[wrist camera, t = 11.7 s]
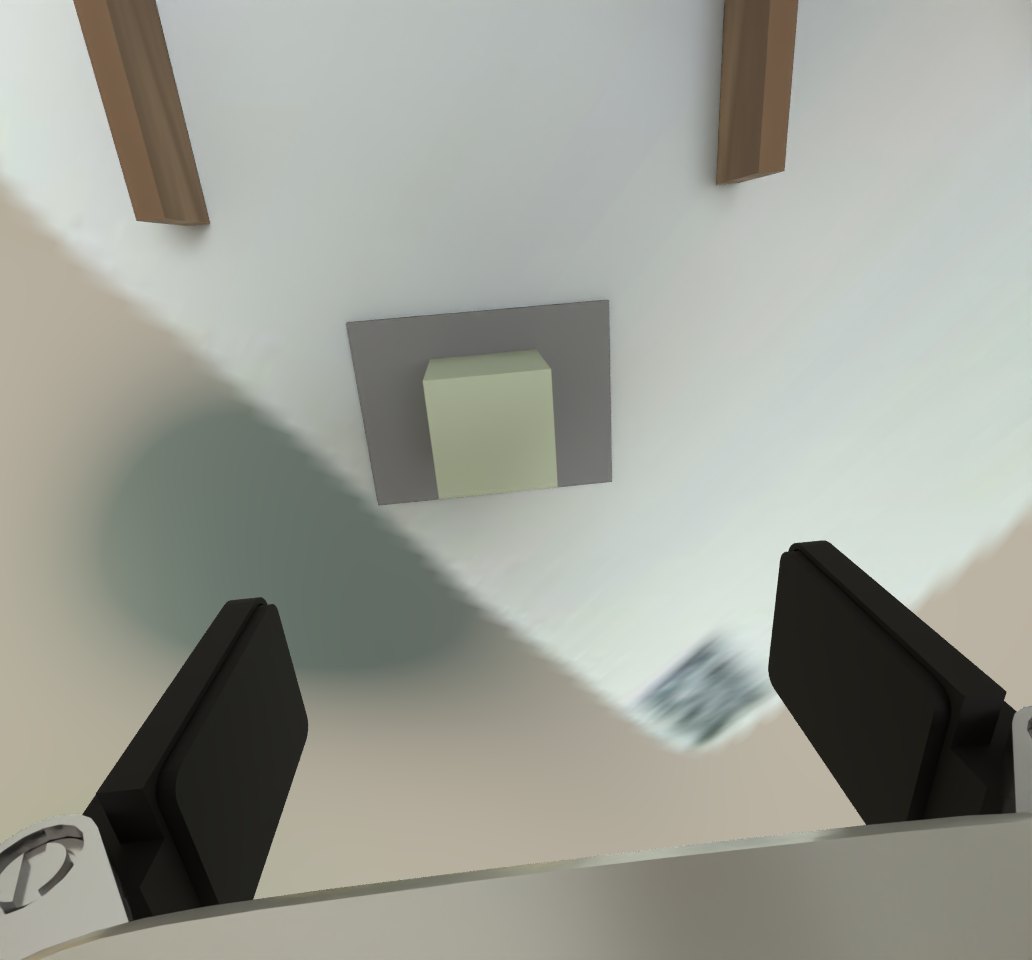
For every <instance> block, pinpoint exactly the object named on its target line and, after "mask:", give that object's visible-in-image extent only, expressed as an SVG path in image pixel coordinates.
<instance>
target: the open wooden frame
mask: <svg viewBox="0 0 1032 960" xmlns="http://www.w3.org/2000/svg"><path fill="white" fill-rule="evenodd" d="M73 1H74V5H75V8H76V12H77V15H78V19H79V22H80V25H81V29H82V32H83V36H84V39H85V43H86V46H87V50H88V53H89V57H90V60H91V64H92V67H93V71H94V74H95V78H96V81H97V85H98V88H99V92H100V95H101V99H102V102H103V105H104V109H105V112H106V116H107V119H108V123H109V126H110V130H111V133H112V137H113V140H114V144H115V147H116V151H117V154H118V158H119V161H120V165H121V168H122V172H123V175H124V179H125V182H126V186H127V189H128V192H129V196H130V199H131V203H132V206H133V210H134V213H135V217H136V220H137V221H143V222H153V223H164V224H174V225H184V226H188V225H201V224H210V222H209V218H208V214H207V210H206V206H205V202H204V197H203V193H202V189H201V185H200V181H199V177H198V173H197V169H196V165H195V161H194V157H193V153H192V149H191V145H190V140H189V136H188V132H187V128H186V124H185V120H184V116H183V112H182V108H181V104H180V100H179V96H178V92H177V88H176V83H175V79H174V75H173V71H172V67H171V63H170V59H169V55H168V51H167V47H166V43H165V39H164V35H163V31H162V27H161V22H160V18H159V14H158V10H157V6H156V2H155V0H73ZM797 10H798V0H725V6H724V29H723V51H722V73H721V96H720V118H719V140H718V162H717V184H729V183H740V182H744V181H747V180H751V179H755V178H759V177H763V176H767V175H771V174H775V173H779V172H782V171H784V168H785V156H786V144H787V132H788V120H789V108H790V95H791V83H792V71H793V59H794V47H795V35H796V23H797Z"/></svg>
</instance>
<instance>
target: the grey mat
mask: <svg viewBox="0 0 1032 960" xmlns="http://www.w3.org/2000/svg"><path fill="white" fill-rule="evenodd" d="M346 325H347V331H348V337H349V342H350V348H351V354H352V359H353V365H354V371H355V376H356V382H357V387H358V393H359V399H360V404H361V410H362V416H363V421H364V427H365V433H366V438H367V444H368V449H369V455H370V461H371V466H372V472H373V478H374V483H375V489H376V495H377V500H378V505H387V504H397V503H407V502H417V501H427V500H437V499H439V495H438V488H437V481H436V473H435V466H434V459H433V452H432V444H431V437H430V430H429V423H428V415H427V408H426V401H425V394H424V386H423V379H424V376H425V373H426V370H427V367H428V364H429V361H430V359H438V358H449V357H459V356H470V355H481V354H492V353H503V352H514V351H524V350H535V349H537V351H538V352H539V353H540V355H541V356H542V357H543V359H544V360H545V361H546V363H547V364H548V365H549V367H550V368H551V376H552V394H553V412H554V429H555V447H556V465H557V483H558V487H565V486H575V485H585V484H595V483H604V482H612V458H611V398H610V339H609V300H600V301H589V302H577V303H566V304H554V305H542V306H531V307H519V308H508V309H496V310H485V311H473V312H461V313H450V314H438V315H427V316H415V317H403V318H392V319H380V320H369V321H357V322H347V323H346Z"/></svg>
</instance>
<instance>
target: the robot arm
mask: <svg viewBox="0 0 1032 960" xmlns="http://www.w3.org/2000/svg"><path fill="white" fill-rule="evenodd" d="M768 672H769V677H770V681H771V683H772V686H773V687H774V689H775V691H776V692H777V694H778V695H779V696H780V698H781V699H782V701H783V702H784V704H785V705H786V707H787V708H788V710H789V711H790V713H791V714H792V716H793V717H794V719H795V720H796V722H797V723H798V725H799V726H800V727H801V729H802V730H803V732H804V733H805V735H806V736H807V738H808V739H809V741H810V742H811V744H812V745H813V747H814V748H815V750H816V751H817V753H818V754H819V756H820V757H821V758H822V760H823V762H824V763H825V764H826V766H827V767H828V769H829V770H830V772H831V773H832V775H833V776H834V778H835V779H836V781H837V782H838V784H839V785H840V787H841V788H842V790H843V791H844V793H845V794H846V796H847V797H848V799H849V800H850V802H851V803H852V805H853V806H854V807H855V809H856V810H857V812H858V813H859V815H860V816H861V818H862V819H863V821H864V822H865V824H866V825H863V826H854V827H845V828H837V829H827V830H818V831H810V832H801V833H793V834H783V835H774V836H765V837H756V838H748V839H740V840H730V841H721V842H712V843H704V844H695V845H686V846H678V847H670V848H661V849H652V850H644V851H635V852H628V853H619V854H610V855H602V856H593V857H585V858H577V859H569V860H560V861H553V862H544V863H535V864H527V865H518V866H510V867H502V868H494V869H486V870H477V871H469V872H462V873H454V874H445V875H437V876H430V877H422V878H414V879H406V880H398V881H390V882H382V883H374V884H366V885H358V886H350V887H342V888H334V889H326V890H319V891H311V892H304V893H297V894H291V895H284V896H276V897H269V898H262V899H256V900H253V898H254V895H255V892H256V889H257V886H258V883H259V880H260V877H261V874H262V871H263V868H264V865H265V862H266V859H267V856H268V853H269V850H270V847H271V844H272V841H273V838H274V835H275V832H276V829H277V826H278V823H279V820H280V817H281V814H282V811H283V808H284V805H285V802H286V799H287V796H288V793H289V790H290V787H291V784H292V781H293V778H294V775H295V772H296V769H297V766H298V763H299V760H300V757H301V754H302V751H303V748H304V745H305V742H306V739H307V733H308V719H307V715H306V711H305V707H304V704H303V700H302V696H301V693H300V689H299V686H298V682H297V678H296V674H295V671H294V667H293V663H292V660H291V656H290V653H289V649H288V645H287V642H286V639H285V635H284V631H283V627H282V624H281V620H280V616H279V613H278V610H277V608H276V606H275V605H274V604H270V605H267V602H266V601H265V600H264V599H263V598H261V597H259V598H249V599H239V600H231V601H228V602H227V603H226V604H225V605H224V607H223V608H222V609H221V611H220V612H219V614H218V615H217V617H216V618H215V620H214V621H213V623H212V624H211V626H210V627H209V628H208V630H207V631H206V633H205V634H204V636H203V637H202V639H201V640H200V642H199V643H198V644H197V646H196V647H195V649H194V651H193V652H192V653H191V655H190V656H189V658H188V659H187V661H186V662H185V664H184V665H183V666H182V668H181V669H180V671H179V673H178V674H177V676H176V677H175V678H174V680H173V681H172V683H171V684H170V686H169V687H168V688H167V690H166V691H165V693H164V694H163V696H162V697H161V699H160V700H159V702H158V703H157V705H156V706H155V708H154V709H153V711H152V712H151V713H150V715H149V716H148V718H147V719H146V721H145V722H144V724H143V725H142V727H141V728H140V729H139V731H138V732H137V734H136V735H135V737H134V738H133V740H132V741H131V743H130V744H129V746H128V747H127V749H126V750H125V752H124V753H123V755H122V756H121V757H120V759H119V760H118V762H117V763H116V765H115V766H114V768H113V769H112V771H111V772H110V773H109V775H108V776H107V778H106V780H105V781H104V782H103V784H102V785H101V787H100V788H99V790H98V791H97V793H96V795H95V797H94V798H93V800H92V801H91V803H90V804H89V806H88V807H87V808H86V810H85V811H84V813H83V814H82V815H80V814H67V815H66V814H65V815H59V816H56V817H52V818H49V819H45V820H42V821H40V822H38V823H36V824H33V825H31V826H29V827H27V828H25V829H23V830H21V831H19V832H18V833H16V834H15V835H13V836H12V837H10V838H8V839H7V840H5V841H4V842H2V843H1V844H0V960H1032V706H1027V707H1023V708H1022V709H1020V710H1019V711H1018V712H1016V711H1015V710H1014V709H1013V708H1012V707H1011V706H1010V705H1008V704H1007V703H1006V702H1005V701H1004V698H1005V695H1006V691H1005V690H1004V689H1003V688H1002V687H1001V686H999V685H998V684H997V683H996V682H995V681H993V680H992V679H991V678H990V677H989V676H987V675H986V674H985V673H984V672H983V671H981V670H980V669H979V668H978V667H977V666H976V665H974V664H973V663H972V662H971V661H969V660H968V659H967V658H966V657H965V656H964V655H963V654H961V653H960V652H959V651H958V650H957V649H955V648H954V647H953V646H952V645H950V644H949V643H948V642H947V641H946V640H945V639H944V638H942V637H941V636H940V635H939V634H938V633H936V632H935V631H934V630H933V629H932V628H930V627H929V626H928V625H927V624H926V623H925V622H923V621H922V620H921V619H920V618H919V617H917V616H916V615H915V614H914V613H913V612H911V611H910V610H909V609H908V608H907V607H906V606H904V605H903V604H902V603H901V602H900V601H898V600H897V599H896V598H895V597H894V596H892V595H891V594H890V593H889V592H888V591H887V590H885V589H884V588H883V587H882V586H881V585H879V584H878V583H877V582H876V581H875V580H873V579H872V578H871V577H870V576H869V575H868V574H866V573H865V572H864V571H863V570H862V569H860V568H859V567H858V566H857V565H856V564H854V563H853V562H852V561H851V560H850V559H849V558H847V557H846V556H845V555H844V554H843V553H841V552H840V551H839V550H838V549H837V548H835V547H834V546H833V545H832V544H831V543H829V542H827V541H812V542H803V543H794V544H793V545H791V547H790V548H789V552H784V553H783V554H782V556H781V559H780V567H779V576H778V584H777V593H776V602H775V611H774V620H773V629H772V638H771V647H770V656H769V665H768Z"/></svg>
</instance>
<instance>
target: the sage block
mask: <svg viewBox="0 0 1032 960" xmlns="http://www.w3.org/2000/svg"><path fill="white" fill-rule="evenodd" d="M423 386H424V394H425V401H426V408H427V415H428V423H429V430H430V437H431V444H432V452H433V459H434V466H435V473H436V481H437V488H438V495H439V500H440V499H449V498H459V497H469V496H478V495H488V494H498V493H507V492H517V491H527V490H536V489H546V488H556V487H558V483H557V465H556V447H555V429H554V412H553V394H552V376H551V368H550V367H549V365H548V364H547V363H546V361H545V360H544V359H543V357H542V356H541V355H540V353H539V352H538V351H537V349H535V350H524V351H514V352H503V353H492V354H481V355H470V356H459V357H449V358H438V359H430V361H429V364H428V367H427V370H426V373H425V376H424V379H423Z"/></svg>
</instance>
